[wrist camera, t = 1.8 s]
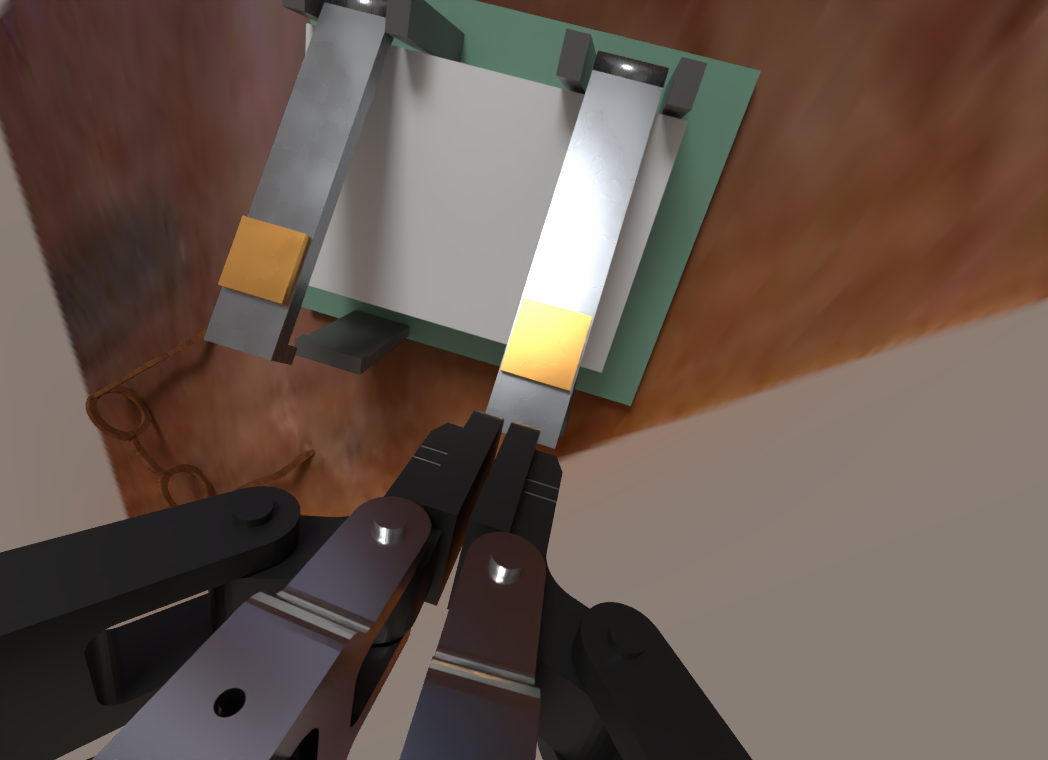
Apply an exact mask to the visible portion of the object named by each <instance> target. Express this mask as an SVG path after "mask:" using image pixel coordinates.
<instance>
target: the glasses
mask: <svg viewBox="0 0 1048 760" xmlns="http://www.w3.org/2000/svg"><path fill="white" fill-rule="evenodd" d="M206 331H207V328H206V329H205V330H203V331H202V332H200V333H199V334H197V335H196V336H194V337H193V338H191V339H189V340H188V341H186V342H185V343H183V344H182V345H180V346H178V347H176V348H174V349H172V350H170V351H168V352H166V353H164V354H162V355H160V356H158V357H156V358H154V359H153V360H151V361H149V362H147V363H145V364H144V365H142V366H140V367H139V368H137V369H135V370H133V371H132V372H130V373H128V374H126V375H125V376H123V377H121V378H119V379H118V380H116V381H114V382H112V383H111V384H109V385H107V386H104V387H101V388H99V389H97V390H96V391H94V392H93V393H92V394H90V395H89V397H88V398H87V401H86V411H87V414H88V416H89V418H90V420H91V421H92V422H93V423H94V425H95V426H96V427H97V428H98V429H99V430H101V431H102V432H103V433H105V434H107V435H109V436H110V437H113V438H116V439H119V440H124V441H126V440H130V445H131V448H132V450H133V451H134V452H135V454H136V455H137V456H138V457H139V458H140V459H141V461H142V462H143V463H144V464H145V465H146V466H147V467H148V469H149V470H151V471H152V472H153V473H155V474H157V475H160V477H159V479H158V492H159V495H160V498H161V500H162V502H163V503H164V504H165V506H166V507H167V508H171V507H175V506H179V505H177V504H176V503H175V502H174V501H173V499H172V498H171V496H170V494H169V491H168V481H169V479H170V477H171V476H172V475H173V474H175V473H177V472H188V473H190V474H192V475H194V476H195V477H196V478H197V479H198V480H199V481H200V483H201V484H202V486H203V488H204V492H205V497H204V499H205V498H209V497H213V489H212V486H211V483H210V482H209V481H208V480H207V479H206V477H205V476H204V475H203V474H202V473H201V471H200V470H199V469H197V468H196V467H194V466H191V465H186V464H183V465H179V466H176V467H174V468H171V469H170V470H168V471H166V470H164V469H163V468H161V467H160V466H159V465H158V464H157V463H156V462H155V461H154V459H153V458H152V457H151V456H150V455H149V454H148V452H147V451H146V450H145V449H144V448H143V447H142V445H141V444H140V442H139V440H138V437H137V436H138V435H140V434H141V433H142V432H144V431H145V430H146V429H147V428H148V426H149V425H150V423H151V414H150V410H149V408H148V407H147V406H146V405H145V404H144V402H143V401H142V400H141V399H140V398H139V396H138V395H137V394H136V393H135V392H133V391H132V390H130V389H128V388H126V387H123V386H119V385H121V384H122V383H124V382H126V381H127V380H129V379H131V378H133V377H134V376H136V375H138V374H140V373H141V372H143V371H145V370H147V369H148V368H150V367H152V366H154V365H155V364H157V363H159V362H161V361H163V360H165V359H166V358H168V357H170V356H172V355H174V354H176V353H178V352H180V351H181V350H183V349H185V348H187V347H188V346H190V345H191V344H193V343H194V342H196V341H198V340H199V339H201V338H202V337H204V336H205V334H206ZM107 393H118V394H122V395H124V396H126V397H128V398H129V399H130V400H132V401H133V402H134V403H135V404H136V406H137V407H138V409H139V411H140V413H141V417H142V420H141V423H140V425H139V426H138V427H137V428H136V429H135V430H133V431H129V432H124V431H120V430H117V429H115V428H113V427H111V426H110V425H108V424H107V423H106V422H105V421H104V420H103V419H102V417H101V416H100V414H99V412H98V409H97V401H98V399H99V398H100V397H101V396H102V395H104V394H107ZM314 453H315V451H314V450H313V449H312V450H310V451H307V452H305V453H304V454H302V455H301V456H300V457H298V458H297V459H295V460H294V461H293V462H291V463H290V464H289V465H287V466H286V467H284V468H283V469H282V470H280V471H279V472H276V473H274V474H271V475H269V476H266V477H263V478H260V479H257V480H254V481H252V482H250V483H248V484H246V485H244V486H242V487H240V488H238V489H236V490H239V489H243V488H248V487H255V486H259V485H262V484H266V483H268V482H271V481H273V480H276V479H278V478H281V477H283V476H285V475H286V474H287V473H289V472H290V471H291V470H293V469H294V468H295V467H297V466H298V465H300V464H301V463H302V462H304V461H305V460H306V459H308V458H309V457H310V456H312V455H313V454H314ZM234 491H235V490H234Z"/></svg>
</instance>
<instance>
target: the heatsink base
mask: <svg viewBox="0 0 1048 760" xmlns="http://www.w3.org/2000/svg"><path fill="white" fill-rule="evenodd" d="M323 4H324V0H283V6H284V7H286V8H288V9H290V10H292V11H294V12H296V13H299V14H301V15H303V16H305V17H307V18H309V19H310V24H307V23H306V52H307V49H308V46H309V43H310V41H311V38H312V35H313V32H314V30H315V27H316V24H317V21H318V18H319V16H320V13H321V10H322V7H323ZM385 32H386V33H387V34H389V35H391V36H393V37H394V39H393V42H392V44H391V47H390V50H389V53H388V56H387V59H386V62H385V65H384V68H383V71H382V73H381V76H380V79H379V82H378V85H377V88H376V91H375V94H374V97H373V99H372V102H371V105H370V108H369V111H368V114H367V117H366V120H365V123H364V126H363V128H362V131H361V134H360V137H359V140H358V143H357V146H356V149H355V152H354V155H353V157H352V160H351V163H350V166H349V169H348V172H347V175H346V178H345V181H344V184H343V186H342V189H341V192H340V195H339V198H338V201H337V204H336V207H335V210H334V213H333V215H332V218H331V221H330V224H329V227H328V230H327V233H326V236H325V239H324V241H323V244H322V247H321V250H320V253H319V256H318V259H317V262H316V265H315V268H314V270H313V273H312V276H311V279H310V282H309V285H308V288H307V291H306V294H305V297H304V299H303V302H302V307H303V308H307V309H310V310H313V311H317V312H320V313H323V314H327V315H330V316H333V317H337V318H339V319H337V320H335V321H334V322H332V323H330V324H328V325H326V326H324V327H322V328H321V329H319V330H317V331H315V332H313V333H311V334H309V335H302V336H300V337H298V338H296V339H295V347H297V351H296V354H295V355H298V356H301V357H304V358H307V359H311V360H314V361H317V362H320V363H324V364H327V365H330V366H333V367H337V368H340V369H343V370H346V371H349V372H353V373H356V374H359V375H360V374H362V373H363V372H364V371H365V370H367V369H368V368H369V367H370V366H372V365H373V364H374V363H375V362H377V361H378V360H379V359H380V358H382V357H383V356H384V355H385V354H387V353H388V352H389V351H391V350H392V349H393V348H394V347H396V346H397V345H398V344H399V343H401V342H402V341H403V340H404V339H410V340H413V341H416V342H420V343H423V344H426V345H430V346H433V347H436V348H440V349H443V350H446V351H449V352H453V353H456V354H459V355H463V356H466V357H469V358H473V359H476V360H479V361H483V362H486V363H489V364H493V365H496V366H499V367H500V365H501V362H502V359H503V356H504V352H505V349H506V346H507V343H508V340H509V336H510V333H511V330H512V327H513V324H514V320H515V317H516V314H517V311H518V308H519V304H520V301H521V298H522V295H523V292H524V288H525V285H526V282H527V279H528V275H529V272H530V269H531V266H532V263H533V259H534V256H535V253H536V250H537V247H538V243H539V240H540V237H541V234H542V231H543V227H544V224H545V221H546V218H547V215H548V211H549V208H550V205H551V202H552V198H553V195H554V192H555V189H556V186H557V182H558V179H559V176H560V173H561V170H562V166H563V163H564V160H565V157H566V154H567V150H568V147H569V144H570V141H571V138H572V134H573V131H574V128H575V125H576V121H577V118H578V115H579V112H580V109H581V105H582V102H583V99H584V96H585V93H586V89H587V86H588V83H589V80H590V77H591V73H592V70H593V66H594V62H595V59H596V55H597V52H598V51H603V52H607V53H611V54H615V55H619V56H623V57H627V58H631V59H635V60H639V61H643V62H647V63H651V64H655V65H659V66H663V67H667V68H669V71H668V74H667V77H666V81H665V84H664V87H663V90H662V94H661V97H660V100H659V104H658V107H657V110H656V114H655V117H654V120H653V124H652V127H651V130H650V134H649V137H648V140H647V144H646V147H645V150H644V154H643V157H642V160H641V164H640V167H639V170H638V174H637V177H636V180H635V184H634V187H633V190H632V194H631V197H630V200H629V204H628V207H627V210H626V214H625V217H624V220H623V224H622V227H621V230H620V234H619V237H618V240H617V244H616V247H615V250H614V254H613V257H612V260H611V264H610V267H609V270H608V274H607V277H606V280H605V284H604V287H603V290H602V294H601V297H600V300H599V304H598V307H597V310H596V314H595V317H594V320H593V324H592V327H591V330H590V334H589V337H588V341H587V344H586V347H585V351H584V354H583V357H582V361H581V364H580V367H579V371H578V374H577V377H576V381H575V384H574V387H573V391H572V394H571V397H570V401H569V404H568V407H567V411H566V414H565V417H564V421H563V424H562V427H561V431H560V434H559V436H560V437H563V436H564V433H565V430H566V427H567V424H568V420H569V414H570V409H571V404H572V400H573V395H574V391H575V389H576V390H579V391H582V392H586V393H589V394H592V395H596V396H599V397H602V398H605V399H609V400H612V401H615V402H619V403H622V404H625V405H629V406H631V404H632V401H633V399H634V396H635V394H636V391H637V389H638V386H639V383H640V381H641V378H642V376H643V373H644V371H645V368H646V365H647V363H648V360H649V358H650V355H651V353H652V350H653V347H654V345H655V342H656V340H657V337H658V335H659V332H660V329H661V327H662V324H663V322H664V319H665V317H666V314H667V311H668V309H669V306H670V304H671V301H672V299H673V296H674V293H675V291H676V288H677V286H678V283H679V281H680V278H681V275H682V273H683V270H684V268H685V265H686V262H687V260H688V257H689V255H690V252H691V250H692V247H693V244H694V242H695V239H696V237H697V234H698V232H699V229H700V226H701V224H702V221H703V219H704V216H705V214H706V211H707V208H708V206H709V203H710V201H711V198H712V196H713V193H714V190H715V188H716V185H717V183H718V180H719V178H720V175H721V172H722V170H723V167H724V165H725V162H726V160H727V157H728V154H729V152H730V149H731V147H732V144H733V142H734V139H735V136H736V134H737V131H738V129H739V126H740V124H741V121H742V118H743V116H744V113H745V111H746V108H747V105H748V103H749V100H750V98H751V95H752V93H753V90H754V87H755V85H756V82H757V80H758V77H759V75H760V72H761V71H759V70H755V69H751V68H747V67H743V66H739V65H735V64H731V63H727V62H723V61H719V60H715V59H710V58H706V57H702V56H698V55H694V54H690V53H686V52H682V51H678V50H674V49H670V48H666V47H662V46H658V45H654V44H649V43H645V42H641V41H637V40H633V39H629V38H625V37H621V36H617V35H613V34H609V33H605V32H601V31H597V30H593V29H589V28H584V27H580V26H576V25H572V24H568V23H564V22H560V21H556V20H552V19H548V18H544V17H540V16H536V15H532V14H528V13H523V12H519V11H515V10H511V9H507V8H503V7H499V6H495V5H491V4H487V3H483V2H479V1H475V0H387V10H386V21H385Z"/></svg>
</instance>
